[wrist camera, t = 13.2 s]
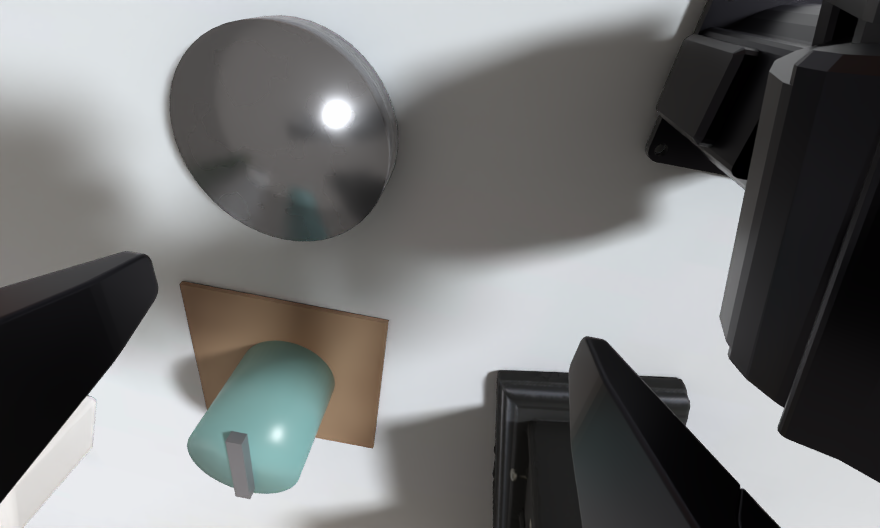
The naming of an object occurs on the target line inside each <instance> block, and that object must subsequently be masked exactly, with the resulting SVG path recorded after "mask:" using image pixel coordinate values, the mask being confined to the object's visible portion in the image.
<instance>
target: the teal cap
mask: <svg viewBox="0 0 880 528" xmlns="http://www.w3.org/2000/svg"><path fill="white" fill-rule="evenodd" d="M334 387H335V380H334V376H333V373H332V371H331V369H330V368H329V366H328V365H327V364H326V363H325V362H324V361H323V360H322V359H321V358H320V357H319V356H318V355H317V354H315V353H314V352H312V351H310V350H309V349H307V348H305V347H302V346H300V345H297V344H294V343H290V342H285V341H265V342H261V343H258V344H256V345H254V346H252V347H251V348H250V349H249V350H248V351H247V352H246V354H245V355H244V357H243V358H242V360H241V361H240V363H239V364H238V366H237V367H236V368H235V370H234V371H233V373H232V374H231V376H230V377H229V379H228V380H227V382H226V383H225V385H224V386H223V388H222V389H221V391H220V392H219V394H218V395H217V397H216V398H215V400H214V401H213V403H212V404H211V406H210V407H209V409H208V410H207V412H206V413H205V415H204V416H203V418H202V419H201V421H200V422H199V424H198V425H197V427H196V428H195V430H194V431H193V433H192V434H191V436H190V437H189V439H188V443H187V447H188V452H189V455H190V456H191V458H192V460H193V461H194V462H195V464H196V465H197V466H198V467H199V468H200V469H201V470H202V471H204V472H205V473H206V474H208V475H209V476H210V477H212V478H214V479H215V480H217V481H219V482H221V483H223V484H225V485H228V486H230V487H233V488H234V490H235V496H237V497H242V498H247V499H250V498H251V496H252V494H253V493H264V494H269V493H278V492H282V491H285V490H288V489H290V488H291V487H293V486H294V485H295V484H296V483H297V481H298V479H299V477H300V474H301V472H302V469H303V467H304V464H305V462H306V459H307V457H308V454H309V452H310V449H311V447H312V444H313V441H314V439H315V436H316V434H317V431H318V429H319V426H320V424H321V421H322V419H323V416H324V414H325V411H326V409H327V406H328V403H329V401H330V398H331V396H332V393H333V391H334Z"/></svg>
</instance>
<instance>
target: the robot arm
mask: <svg viewBox="0 0 880 528" xmlns="http://www.w3.org/2000/svg"><path fill="white" fill-rule="evenodd" d="M656 109H657V111H658V114H659V116H658V119H657V121H656V123H655V126H654V128H653V130H652V133H651V135H650V137H649V140H648V142H647V144H646V149H645V151H646V154H647V155H648V157H649V158H650V159H651V160H652V161H655V162H658V163H664V164H669V165H674V166H679V167H685V168H690V169H695V170H701V171H706V172H711V173H717V174H722V175H727V176H729V177H730V178H731V179H732V180H734V181H735V182H736V183H737V184H738V185H740V186H741V187H742V188H743V189H744V190H745V193H744V198H743V203H742V208H741V213H740V218H739V223H738V228H737V233H736V238H735V243H734V248H733V253H732V258H731V262H730V267H729V272H728V277H727V282H726V287H725V292H724V297H723V302H722V307H721V312H720V321H721V324H722V328H723V332H724V335H725V339H726V342H727V343H728V345H729V351H728V357H729V359H730V360H731V362H732V363H733V364H734V365H735V366H736V368H737V369H738V370H739V371H740V372H741V373H742V375H743V376H744V377H745V378H746V379H747V380H748V381H749V382H751V383H752V384H753V385H754V386H756V387H757V388H758V389H759V390H761V391H762V392H763V393H764V394H766V395H767V396H768V397H769V398H771V399H772V400H773V401H774V402H776V403H777V404H779V405H780V406H782V407H784V410H783V413H782V416H781V419H780V422H779V425H778V431H779V433H780V434H781V435H782V436H783V437H784V438H787V439H789V440H791V441H794V442H796V443H799V444H801V445H804V446H806V447H809V448H811V449H814V450H816V451H819V452H821V453H824V454H826V455H828V456H831V457H833V458H836V459H838V460H840V461H842V462H844V463H846V464H847V465H849V466H851V467H853V468H855V469H856V470H858V471H860V472H862V473H863V474H865V475H867V476H869V477H870V478H872V479H874V480H876V481H877V482H879V483H880V0H708V1H707V4H706V6H705V8H704V11H703V13H702V15H701V18H700V20H699V22H698V25H697V27H696V29H695V32H694V34H692V35H690V36H689V37H687V38H686V39H685V40H684V41H683V43H682V46H681V48H680V51H679V53H678V55H677V58H676V60H675V63H674V65H673V67H672V70H671V72H670V75H669V77H668V79H667V82H666V84H665V87H664V89H663V91H662V94H661V96H660V98H659V101H658V103H657V106H656ZM660 144H665V148H664V150H663V151H662V152H660V153H654V152H655V148H656V147H657V146H658V145H660ZM157 294H158V283H157V280H156V276H155V272H154V268H153V265H152V261H151V259H150V258H149V257H148V256H147V255H145V254H141V253H135V252H130V251H125V252H121V253H117V254H114V255H111V256H107V257H104V258H101V259H97V260H94V261H90V262H87V263H84V264H80V265H77V266H73V267H70V268H67V269H63V270H60V271H56V272H53V273H50V274H46V275H43V276H39V277H36V278H33V279H29V280H26V281H22V282H19V283H16V284H12V285H9V286H5V287H2V288H0V504H1V502H2V501H3V500H4V499H5V497H6V496H7V495H8V494H9V492H10V491H11V490H12V489H13V487H14V486H15V485H16V484H17V482H18V481H19V480H20V479H21V477H22V476H23V475H24V474H25V472H26V471H27V470H28V469H29V467H30V466H31V465H32V464H33V462H34V461H35V460H36V459H37V457H38V456H39V455H40V454H41V452H42V451H43V450H44V449H45V447H46V446H47V445H48V444H49V442H50V441H51V440H52V439H53V438H54V436H55V435H56V434H57V433H58V431H59V430H60V429H61V428H62V426H63V425H64V424H65V423H66V421H67V420H68V419H69V418H70V416H71V415H72V414H73V413H74V411H75V410H76V409H77V408H78V406H79V405H80V404H81V403H82V401H83V400H84V399H85V398H86V396H87V395H88V394H89V393H90V391H91V390H92V389H93V388H94V386H95V385H96V384H97V383H98V381H99V380H100V379H101V378H102V376H103V375H104V374H105V373H106V372H107V370H108V369H109V368H110V366H111V365H112V364H113V362H114V361H115V360H116V359H117V357H118V356H119V354H120V353H121V351H122V350H123V348H124V347H125V345H126V344H127V342H128V341H129V339H130V338H131V336H132V334H133V333H134V331H135V330H136V328H137V327H138V325H139V324H140V322H141V320H142V319H143V317H144V316H145V314H146V313H147V311H148V310H149V308H150V307H151V305H152V303H153V302H154V300H155V299H156V297H157ZM569 404H570V437H571V450H572V458H573V465H574V472H575V478H576V485H577V492H578V499H579V506H580V513H581V520H582V527H583V528H781V527H780V526H779V525H778V524H777V523H776V522H775V521H774V520H773V519H772V518H771V517H770V516H769V515H768V514H767V513H766V512H765V511H764V510H763V508H762V507H761V506H760V505H759V504H758V503H757V502H756V501H755V500H754V499H753V498H752V497H751V496H750V495H749V493H748V492H747V491H746V490H745V489H740V484H739V483H738V482H737V481H736V480H735V479H734V478H733V477H732V475H731V474H730V473H729V472H728V471H727V470H726V469H725V468H724V467H723V466H722V465H721V464H720V463H719V461H718V460H717V459H716V458H715V457H714V456H713V455H712V454H711V453H710V452H709V451H708V450H707V449H706V448H705V446H704V445H703V444H702V443H701V442H700V441H699V440H698V439H697V438H696V437H695V436H694V435H693V434H692V433H691V431H690V430H689V429H688V428H687V427H686V426H685V425H684V424H683V423H682V422H681V421H680V420H679V419H678V417H677V416H676V415H675V414H674V413H673V412H672V411H671V410H670V409H669V408H668V407H667V406H666V405H665V404H664V402H663V401H662V400H661V399H660V398H659V397H658V396H657V395H656V394H655V393H654V392H653V391H652V390H651V389H650V387H649V386H648V385H647V384H646V383H645V382H644V381H643V380H642V379H641V378H640V377H639V376H638V375H637V373H636V372H635V371H634V370H633V369H632V368H631V367H630V366H629V365H628V364H627V363H626V362H625V361H624V360H623V358H622V357H621V356H620V355H619V354H618V353H617V352H616V351H615V350H614V349H613V348H612V347H611V346H610V345H609V343H608V342H606V341H605V340H603V339H599V338H594V337H589V336H586V337H584V338H583V339H582V340H581V342H580V344H579V346H578V348H577V351H576V353H575V355H574V357H573V360H572V362H571V364H570V368H569Z"/></svg>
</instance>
